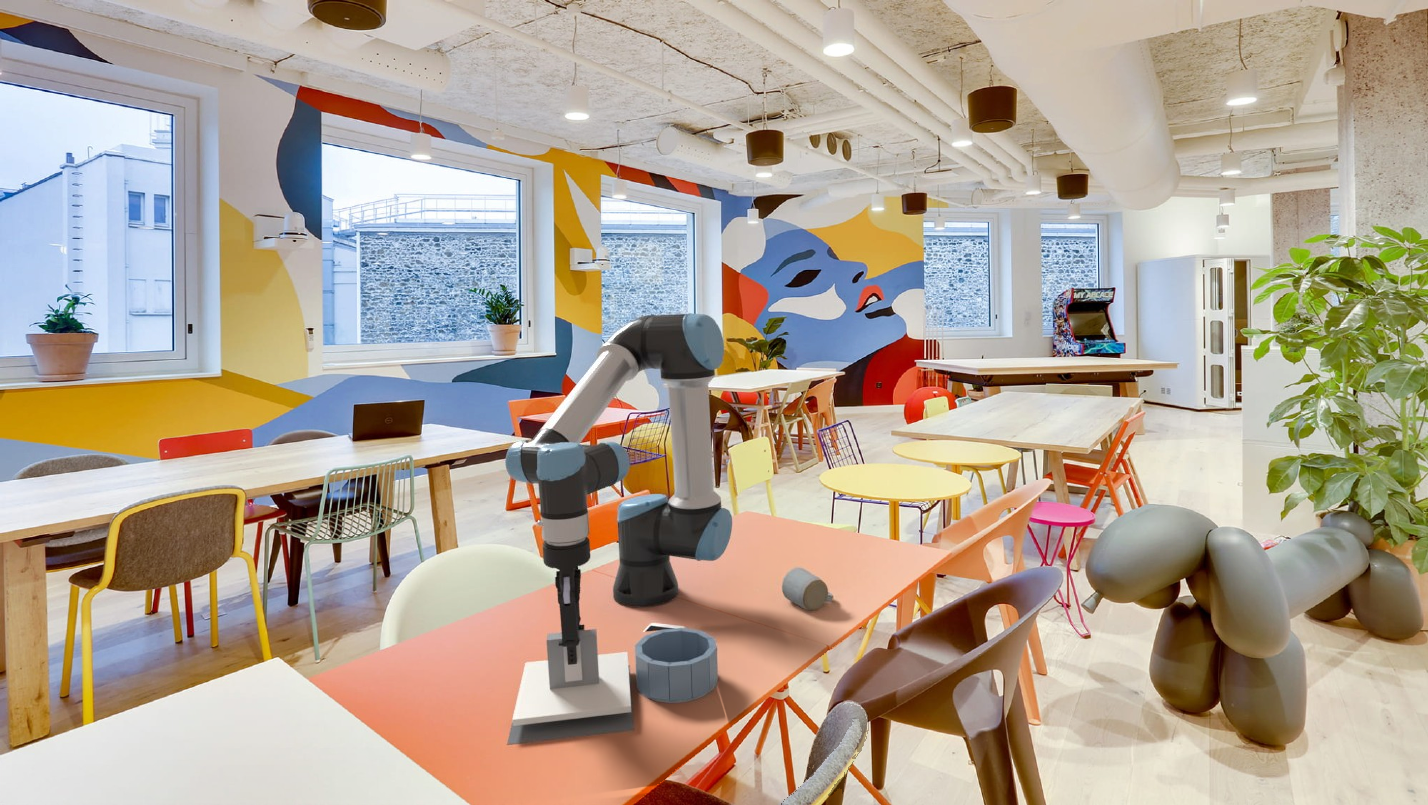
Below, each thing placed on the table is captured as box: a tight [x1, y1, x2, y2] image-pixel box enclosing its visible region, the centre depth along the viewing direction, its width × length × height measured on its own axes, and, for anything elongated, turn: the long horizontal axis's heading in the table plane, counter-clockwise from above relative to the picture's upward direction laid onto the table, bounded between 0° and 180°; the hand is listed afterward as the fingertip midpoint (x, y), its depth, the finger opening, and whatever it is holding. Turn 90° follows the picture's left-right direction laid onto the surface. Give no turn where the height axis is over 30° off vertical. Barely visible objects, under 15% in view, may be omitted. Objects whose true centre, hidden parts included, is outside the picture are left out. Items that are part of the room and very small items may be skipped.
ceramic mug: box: [781, 566, 834, 611], centre depth 154 cm, size 11×8×8 cm
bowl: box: [634, 627, 719, 704], centre depth 122 cm, size 14×14×7 cm
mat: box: [506, 664, 635, 746], centre depth 116 cm, size 21×19×1 cm
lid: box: [511, 628, 631, 726], centre depth 116 cm, size 18×18×10 cm
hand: (574, 674), depth 116 cm, fingers closed on lid, 2 cm apart
